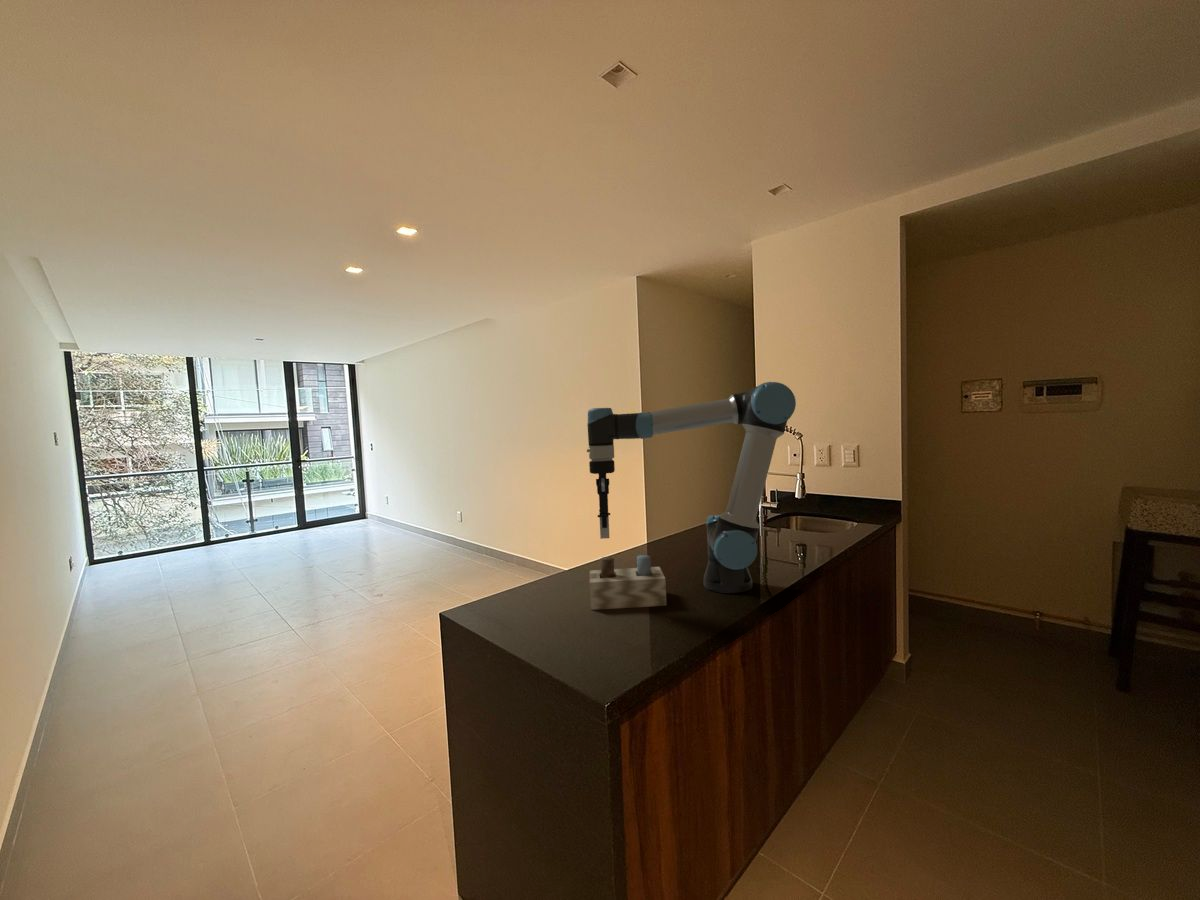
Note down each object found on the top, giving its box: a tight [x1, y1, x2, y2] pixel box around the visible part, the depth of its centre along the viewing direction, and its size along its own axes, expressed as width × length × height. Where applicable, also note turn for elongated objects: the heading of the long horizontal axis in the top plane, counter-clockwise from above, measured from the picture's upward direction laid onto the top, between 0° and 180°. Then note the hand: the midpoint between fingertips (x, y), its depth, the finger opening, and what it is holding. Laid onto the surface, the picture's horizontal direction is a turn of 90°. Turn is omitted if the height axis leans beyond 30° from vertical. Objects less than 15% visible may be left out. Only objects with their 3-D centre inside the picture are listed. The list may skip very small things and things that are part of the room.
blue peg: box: [636, 554, 652, 576], centre depth 144 cm, size 4×4×8 cm
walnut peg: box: [600, 556, 615, 578], centre depth 144 cm, size 4×4×8 cm
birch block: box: [589, 566, 668, 611], centre depth 144 cm, size 22×12×8 cm, turn 91°
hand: (604, 537), depth 143 cm, fingers closed
